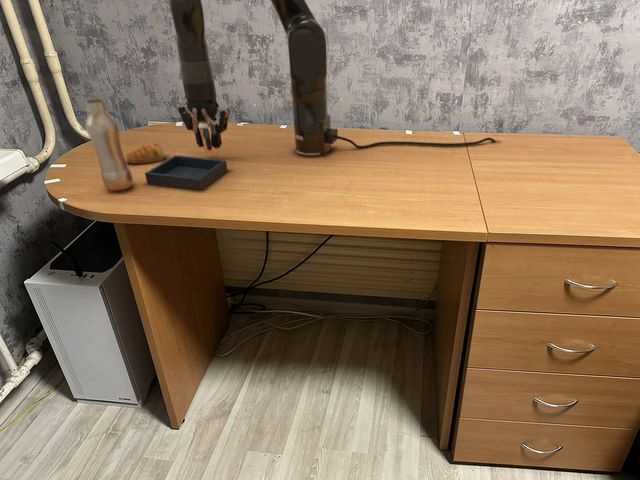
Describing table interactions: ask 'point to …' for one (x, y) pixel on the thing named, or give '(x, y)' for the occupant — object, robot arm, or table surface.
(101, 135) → the plastic bottle
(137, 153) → the pastry
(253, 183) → the table surface
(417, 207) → the table surface
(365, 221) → the table surface
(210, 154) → the milkshake
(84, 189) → the table surface
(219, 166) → the tray
